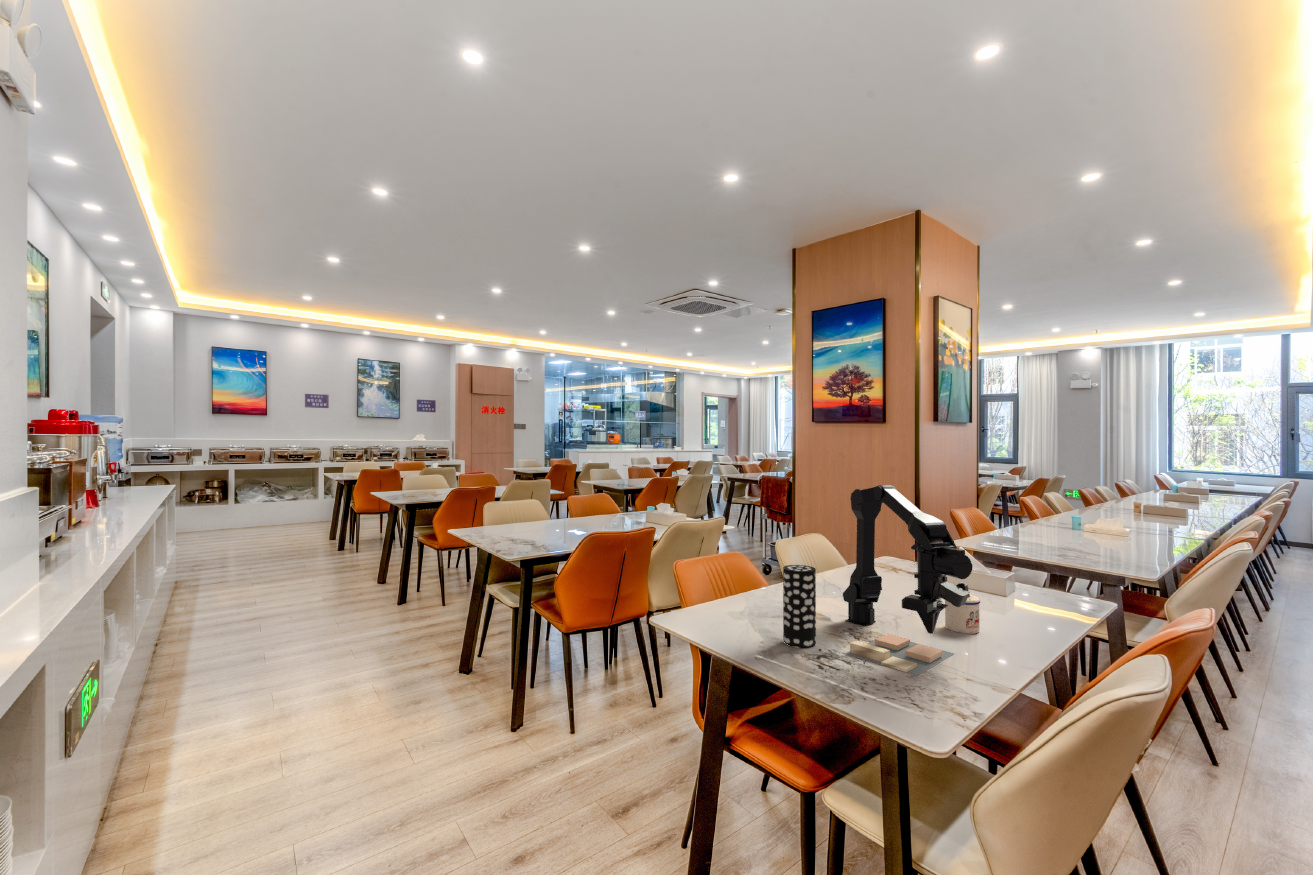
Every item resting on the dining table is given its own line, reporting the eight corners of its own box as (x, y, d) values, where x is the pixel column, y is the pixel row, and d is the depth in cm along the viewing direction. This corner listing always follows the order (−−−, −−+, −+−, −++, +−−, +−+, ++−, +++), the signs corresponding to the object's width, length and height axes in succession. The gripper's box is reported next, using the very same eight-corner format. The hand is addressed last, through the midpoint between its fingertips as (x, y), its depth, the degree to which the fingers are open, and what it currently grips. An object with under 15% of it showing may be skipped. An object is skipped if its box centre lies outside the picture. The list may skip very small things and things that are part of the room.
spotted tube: (818, 641, 151) (818, 566, 152) (813, 651, 144) (812, 572, 144) (787, 637, 155) (786, 563, 155) (780, 646, 147) (780, 569, 148)
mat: (844, 655, 142) (844, 653, 142) (886, 636, 155) (886, 635, 155) (916, 677, 128) (916, 675, 128) (955, 655, 142) (955, 653, 142)
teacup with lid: (972, 636, 155) (971, 594, 155) (938, 628, 162) (938, 587, 163) (990, 628, 163) (989, 587, 163) (957, 620, 170) (957, 581, 170)
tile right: (918, 650, 144) (905, 657, 139) (918, 644, 144) (905, 650, 139) (942, 657, 139) (930, 664, 135) (942, 650, 139) (930, 657, 135)
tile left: (888, 639, 152) (874, 645, 147) (888, 633, 152) (874, 639, 147) (910, 645, 147) (897, 651, 143) (910, 639, 147) (897, 645, 143)
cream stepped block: (847, 653, 141) (846, 644, 141) (858, 648, 145) (858, 639, 145) (906, 672, 130) (906, 661, 130) (917, 665, 134) (917, 655, 134)
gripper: (948, 581, 130) (948, 650, 129) (979, 570, 142) (979, 633, 141) (900, 573, 138) (900, 638, 138) (933, 563, 150) (934, 622, 150)
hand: (930, 633), depth 141 cm, fingers closed
